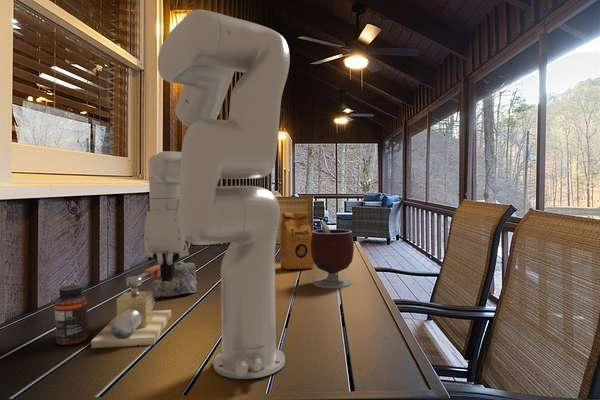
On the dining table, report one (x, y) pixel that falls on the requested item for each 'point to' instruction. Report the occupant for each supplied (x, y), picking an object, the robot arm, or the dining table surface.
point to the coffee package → (295, 241)
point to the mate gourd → (332, 255)
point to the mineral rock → (177, 281)
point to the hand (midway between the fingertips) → (167, 280)
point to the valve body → (132, 312)
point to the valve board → (134, 333)
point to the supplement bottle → (71, 316)
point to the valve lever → (144, 276)
